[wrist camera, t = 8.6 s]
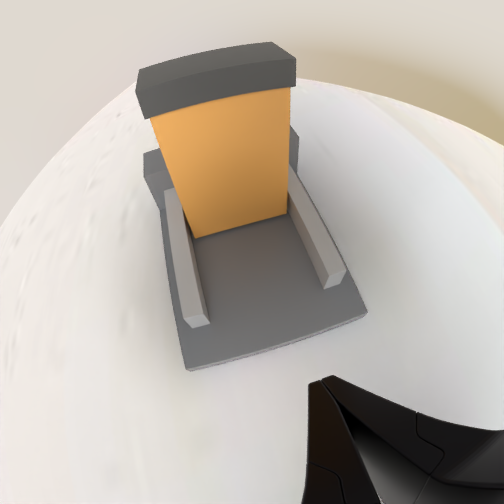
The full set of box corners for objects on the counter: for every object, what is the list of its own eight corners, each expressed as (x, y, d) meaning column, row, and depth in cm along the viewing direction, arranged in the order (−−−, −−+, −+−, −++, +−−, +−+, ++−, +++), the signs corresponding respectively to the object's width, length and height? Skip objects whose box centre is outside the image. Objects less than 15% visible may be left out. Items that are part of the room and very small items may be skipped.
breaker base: (363, 316, 18) (392, 284, 13) (190, 371, 17) (160, 356, 12) (284, 161, 26) (284, 115, 21) (160, 193, 25) (142, 150, 20)
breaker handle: (289, 214, 21) (296, 58, 11) (192, 241, 20) (135, 91, 10) (274, 184, 23) (271, 41, 12) (186, 207, 22) (139, 69, 12)
